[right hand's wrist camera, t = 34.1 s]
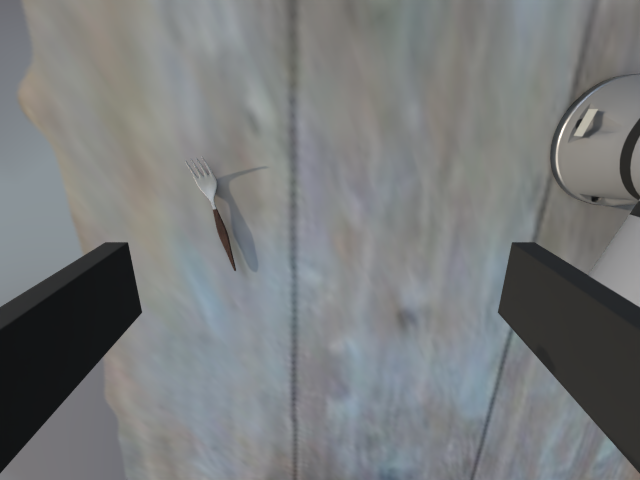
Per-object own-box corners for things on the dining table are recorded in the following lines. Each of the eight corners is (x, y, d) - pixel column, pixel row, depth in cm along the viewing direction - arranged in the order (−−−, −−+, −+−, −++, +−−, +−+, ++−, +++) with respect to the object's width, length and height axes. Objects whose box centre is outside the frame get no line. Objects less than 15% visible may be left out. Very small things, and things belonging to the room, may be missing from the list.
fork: (227, 271, 50) (223, 277, 48) (188, 158, 44) (182, 160, 42) (245, 267, 49) (242, 273, 47) (208, 154, 44) (203, 156, 42)
